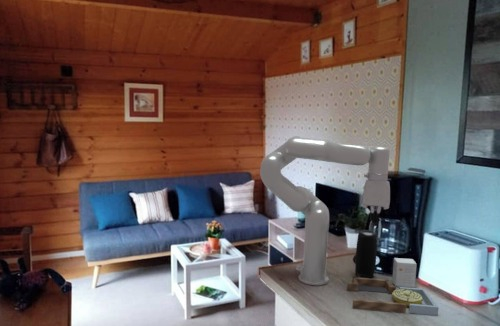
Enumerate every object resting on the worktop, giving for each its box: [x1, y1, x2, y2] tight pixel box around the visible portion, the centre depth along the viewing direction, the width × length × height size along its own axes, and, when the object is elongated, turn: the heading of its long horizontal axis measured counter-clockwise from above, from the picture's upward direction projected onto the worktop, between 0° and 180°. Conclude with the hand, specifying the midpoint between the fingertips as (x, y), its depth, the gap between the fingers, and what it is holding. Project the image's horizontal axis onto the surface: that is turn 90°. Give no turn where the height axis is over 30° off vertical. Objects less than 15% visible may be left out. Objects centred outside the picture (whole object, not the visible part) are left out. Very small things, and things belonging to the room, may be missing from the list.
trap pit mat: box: [358, 285, 388, 294], centre depth 167 cm, size 12×5×1 cm, turn 84°
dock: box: [398, 286, 439, 316], centre depth 155 cm, size 10×16×3 cm, turn 174°
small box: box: [391, 257, 418, 288], centre depth 173 cm, size 8×6×10 cm
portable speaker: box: [354, 229, 378, 278], centre depth 181 cm, size 9×9×20 cm
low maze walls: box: [346, 276, 407, 314], centre depth 160 cm, size 18×22×3 cm
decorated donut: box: [391, 288, 424, 308], centre depth 157 cm, size 10×11×4 cm
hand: (373, 222), depth 167 cm, fingers closed
